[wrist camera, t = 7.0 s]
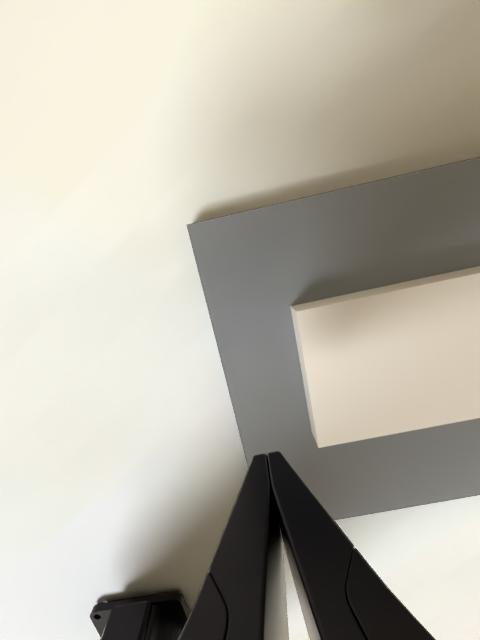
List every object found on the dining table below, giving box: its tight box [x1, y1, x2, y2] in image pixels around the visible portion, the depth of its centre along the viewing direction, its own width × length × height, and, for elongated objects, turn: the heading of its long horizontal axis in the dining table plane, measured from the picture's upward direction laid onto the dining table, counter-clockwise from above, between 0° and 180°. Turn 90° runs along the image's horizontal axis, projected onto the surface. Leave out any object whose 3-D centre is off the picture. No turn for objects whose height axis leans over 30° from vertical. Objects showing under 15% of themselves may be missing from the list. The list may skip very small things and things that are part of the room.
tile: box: [290, 266, 480, 448], centre depth 12 cm, size 7×1×9 cm
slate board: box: [187, 157, 480, 520], centre depth 13 cm, size 18×16×1 cm
